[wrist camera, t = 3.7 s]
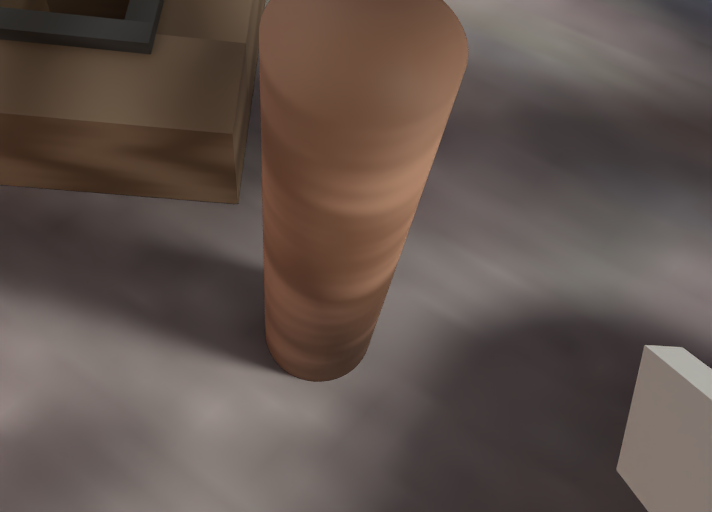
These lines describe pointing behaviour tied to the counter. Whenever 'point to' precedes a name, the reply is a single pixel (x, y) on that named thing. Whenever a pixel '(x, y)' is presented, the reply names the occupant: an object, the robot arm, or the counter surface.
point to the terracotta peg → (345, 162)
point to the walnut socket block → (128, 95)
